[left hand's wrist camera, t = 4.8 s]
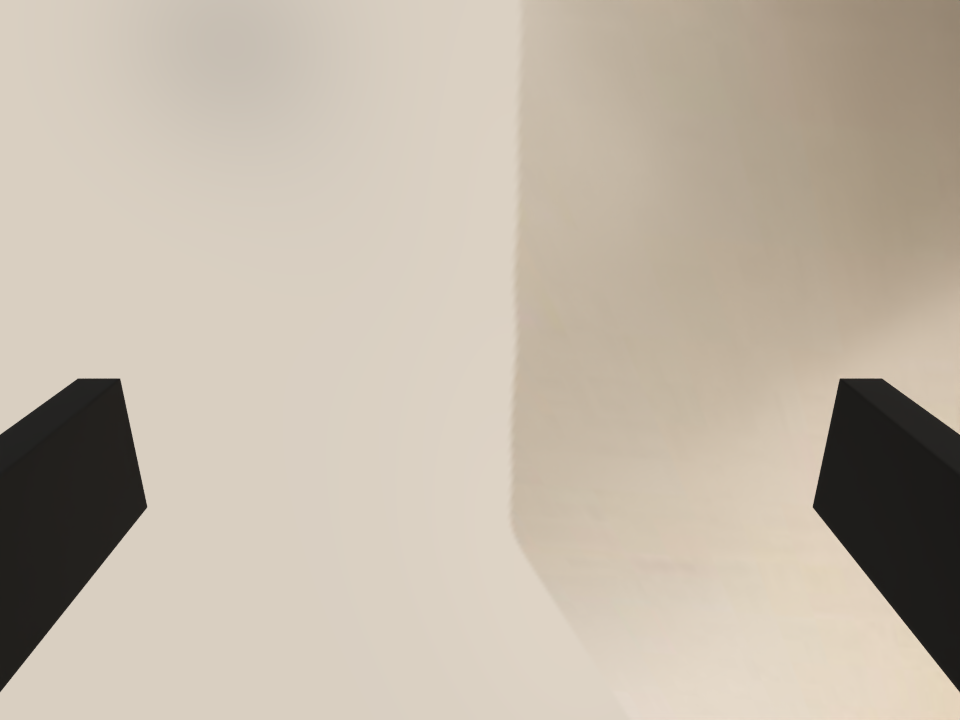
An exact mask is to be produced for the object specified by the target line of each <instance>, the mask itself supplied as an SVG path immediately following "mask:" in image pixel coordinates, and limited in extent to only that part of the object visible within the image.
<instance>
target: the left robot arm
mask: <svg viewBox="0 0 960 720" xmlns="http://www.w3.org/2000/svg"><path fill="white" fill-rule="evenodd" d="M146 508H147V504H146V499H145V494H144V490H143V485H142V480H141V475H140V471H139V466H138V461H137V457H136V452H135V447H134V442H133V437H132V433H131V428H130V423H129V418H128V414H127V409H126V404H125V400H124V395H123V390H122V385H121V381H120V379H77V380H76V381H74V382H73V383H71V384H70V385H69V386H67V387H66V388H64V389H63V390H62V391H60V392H59V393H57V394H56V395H55V396H53V397H52V398H51V399H49V400H48V401H46V402H45V403H44V404H42V405H41V406H39V407H38V408H37V409H35V410H34V411H33V412H31V413H30V414H28V415H27V416H26V417H24V418H23V419H21V420H20V421H19V422H17V423H16V424H15V425H13V426H12V427H10V428H9V429H8V430H6V431H5V432H3V433H2V434H1V435H0V692H1V690H2V689H3V688H4V687H5V685H6V684H7V683H8V682H9V680H10V679H11V678H12V677H13V675H14V674H15V673H16V672H17V670H18V669H19V668H20V667H21V665H22V664H23V663H24V661H25V660H26V659H27V658H28V656H29V655H30V654H31V653H32V651H33V650H34V649H35V648H36V646H37V645H38V644H39V643H40V641H41V640H42V639H43V638H44V636H45V635H46V634H47V633H48V631H49V630H50V629H51V628H52V626H53V625H54V624H55V622H56V621H57V620H58V619H59V617H60V616H61V615H62V614H63V612H64V611H65V610H66V609H67V607H68V606H69V605H70V604H71V602H72V601H73V600H74V599H75V597H76V596H77V595H78V594H79V592H80V591H81V590H82V589H83V587H84V586H85V585H86V584H87V582H88V581H89V580H90V579H91V577H92V576H93V575H94V573H95V572H96V571H97V570H98V568H99V567H100V566H101V565H102V563H103V562H104V561H105V560H106V558H107V557H108V556H109V555H110V553H111V552H112V551H113V550H114V548H115V547H116V546H117V545H118V543H119V542H120V541H121V540H122V538H123V537H124V536H125V534H126V533H127V532H128V531H129V529H130V528H131V527H132V526H133V524H134V523H135V522H136V521H137V519H138V518H139V517H140V516H141V514H142V513H143V512H144V511H145V509H146ZM813 508H814V509H815V511H816V512H817V513H818V514H819V516H820V517H821V518H822V519H823V521H824V522H825V523H826V524H827V526H828V527H829V528H830V529H831V531H832V532H833V533H834V535H835V536H836V537H837V538H838V540H839V541H840V542H841V543H842V545H843V546H844V547H845V548H846V550H847V551H848V552H849V553H850V555H851V556H852V557H853V558H854V560H855V561H856V562H857V563H858V565H859V566H860V567H861V568H862V570H863V571H864V572H865V573H866V575H867V576H868V577H869V579H870V580H871V581H872V582H873V584H874V585H875V586H876V587H877V589H878V590H879V591H880V592H881V594H882V595H883V596H884V597H885V599H886V600H887V601H888V602H889V604H890V605H891V606H892V607H893V609H894V610H895V611H896V612H897V614H898V615H899V616H900V617H901V619H902V620H903V621H904V623H905V624H906V625H907V626H908V628H909V629H910V630H911V631H912V633H913V634H914V635H915V636H916V638H917V639H918V640H919V641H920V643H921V644H922V645H923V646H924V648H925V649H926V650H927V651H928V653H929V654H930V655H931V656H932V658H933V659H934V660H935V661H936V663H937V664H938V665H939V667H940V668H941V669H942V670H943V672H944V673H945V674H946V675H947V677H948V678H949V679H950V680H951V682H952V683H953V684H954V685H955V687H956V688H957V689H958V690H959V692H960V435H959V434H958V433H957V432H955V431H954V430H952V429H951V428H950V427H948V426H947V425H946V424H944V423H943V422H941V421H940V420H939V419H937V418H936V417H934V416H933V415H932V414H930V413H929V412H927V411H926V410H925V409H923V408H922V407H921V406H919V405H918V404H916V403H915V402H914V401H912V400H911V399H909V398H908V397H907V396H905V395H904V394H903V393H901V392H900V391H898V390H897V389H896V388H894V387H893V386H891V385H890V384H889V383H887V382H886V381H884V380H883V379H840V381H839V385H838V390H837V395H836V400H835V404H834V409H833V414H832V418H831V423H830V428H829V433H828V437H827V442H826V447H825V452H824V456H823V461H822V466H821V471H820V475H819V480H818V485H817V489H816V494H815V499H814V504H813Z"/></svg>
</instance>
